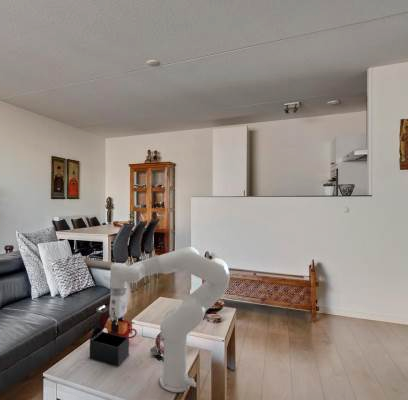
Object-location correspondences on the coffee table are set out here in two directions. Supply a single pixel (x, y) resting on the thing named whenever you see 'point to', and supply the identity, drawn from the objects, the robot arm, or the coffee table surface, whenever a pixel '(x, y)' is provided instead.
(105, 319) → the bin lid
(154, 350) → the packaged food
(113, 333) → the ceramic cup
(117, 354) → the bin
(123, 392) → the coffee table surface
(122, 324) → the orange block
